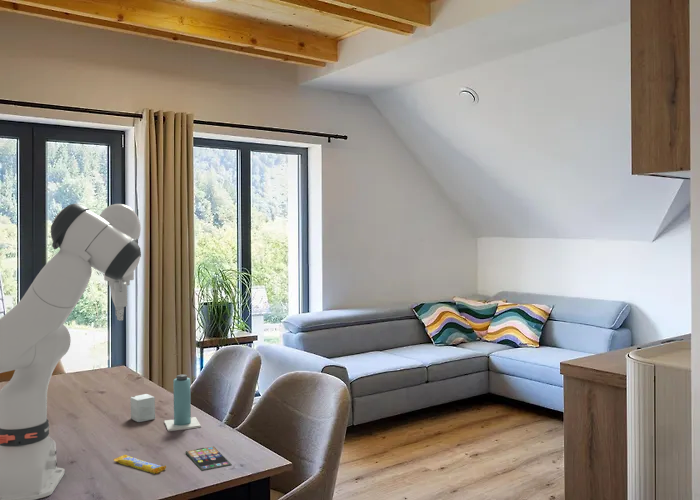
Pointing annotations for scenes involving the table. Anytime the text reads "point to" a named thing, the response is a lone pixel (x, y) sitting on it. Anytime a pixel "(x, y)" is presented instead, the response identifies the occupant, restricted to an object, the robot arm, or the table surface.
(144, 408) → the skincare box
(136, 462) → the candy bar
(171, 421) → the coaster
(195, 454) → the smartphone
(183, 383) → the bottle
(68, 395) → the table surface
